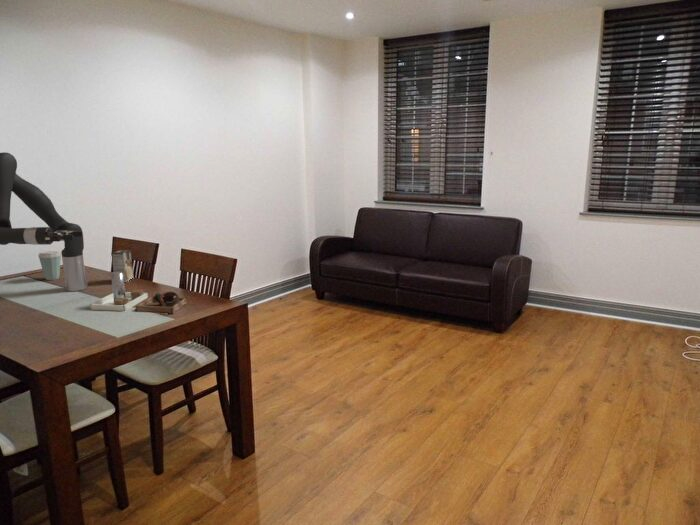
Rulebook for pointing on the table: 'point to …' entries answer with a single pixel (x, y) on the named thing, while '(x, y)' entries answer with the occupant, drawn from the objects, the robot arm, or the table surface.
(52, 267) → the disposable coffee cup
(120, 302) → the walnut block
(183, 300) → the brown wooden tray
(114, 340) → the table surface
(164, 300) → the pottery mug
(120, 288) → the part cylinder
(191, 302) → the table surface
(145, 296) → the tray
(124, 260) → the coffee box
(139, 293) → the walnut block
